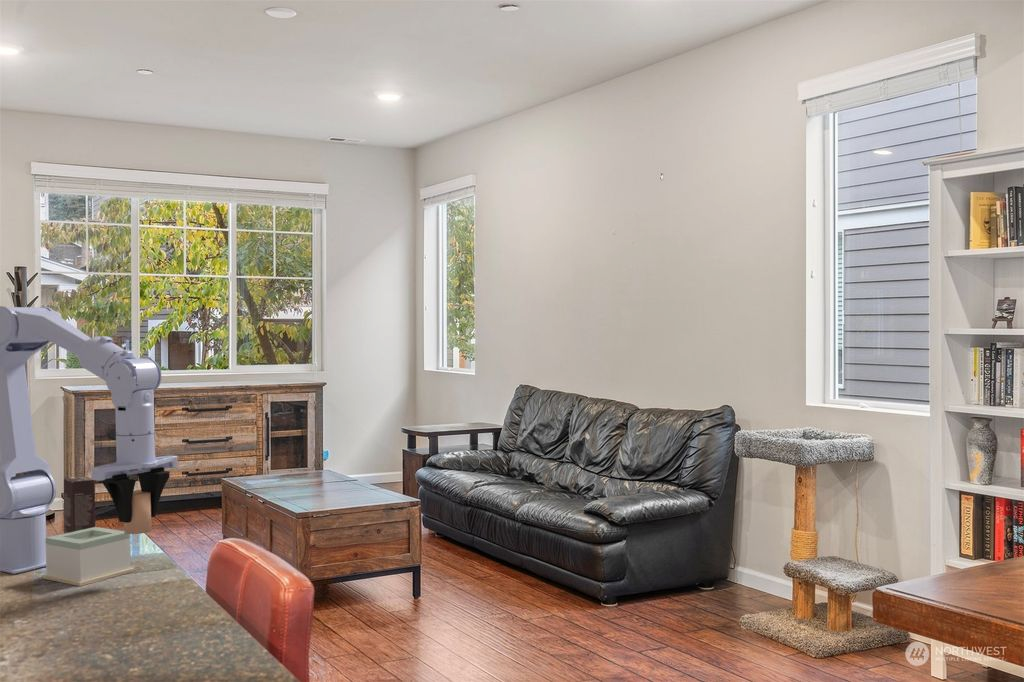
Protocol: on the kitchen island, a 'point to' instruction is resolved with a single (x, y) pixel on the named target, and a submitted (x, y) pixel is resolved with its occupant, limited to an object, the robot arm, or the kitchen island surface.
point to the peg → (140, 514)
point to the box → (79, 504)
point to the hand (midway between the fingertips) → (137, 519)
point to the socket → (87, 556)
